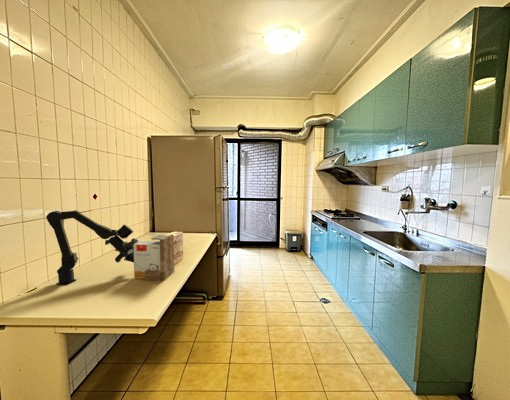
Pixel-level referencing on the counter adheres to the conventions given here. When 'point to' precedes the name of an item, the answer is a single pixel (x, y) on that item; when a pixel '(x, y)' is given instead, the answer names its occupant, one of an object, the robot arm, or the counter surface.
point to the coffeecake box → (177, 246)
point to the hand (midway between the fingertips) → (138, 263)
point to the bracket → (163, 259)
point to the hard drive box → (146, 257)
